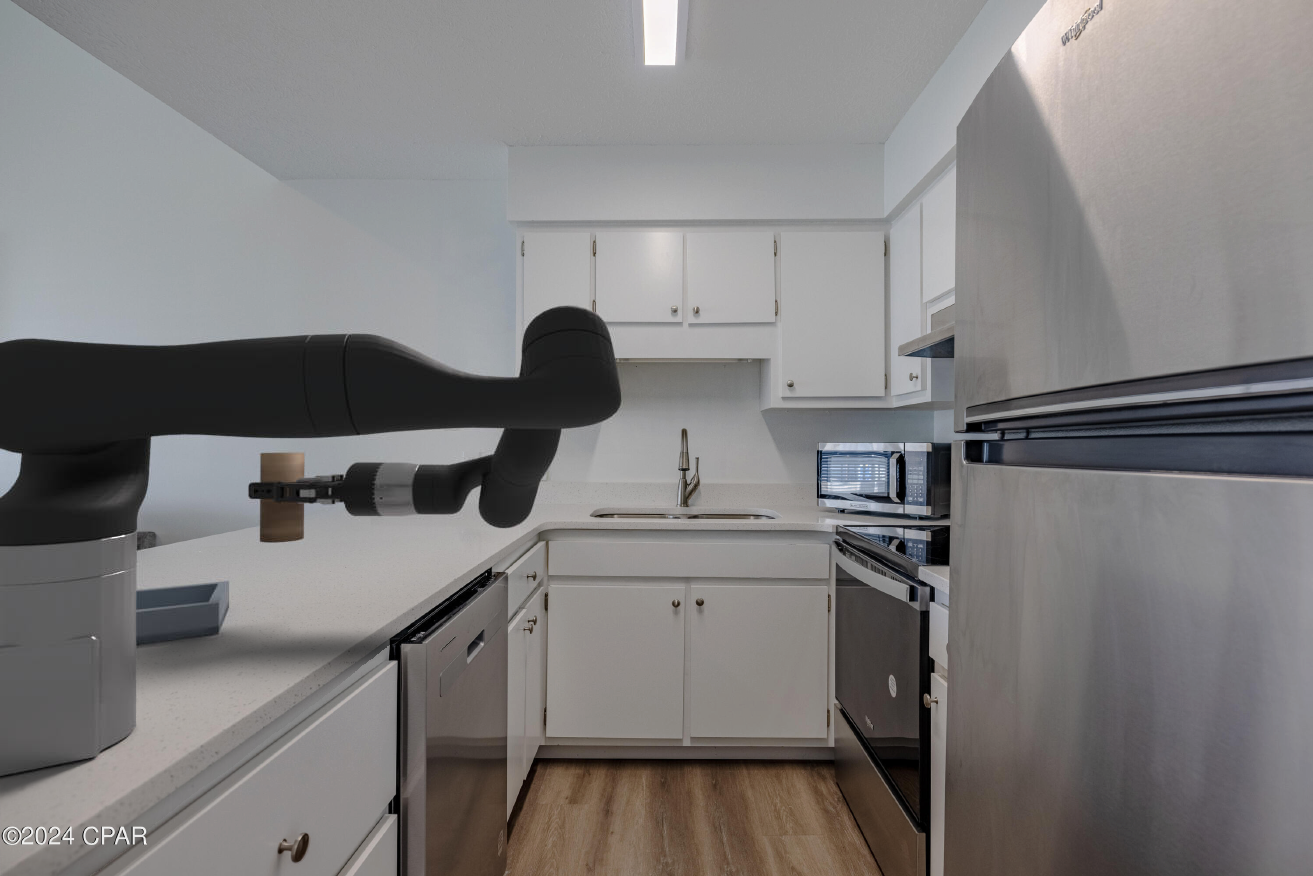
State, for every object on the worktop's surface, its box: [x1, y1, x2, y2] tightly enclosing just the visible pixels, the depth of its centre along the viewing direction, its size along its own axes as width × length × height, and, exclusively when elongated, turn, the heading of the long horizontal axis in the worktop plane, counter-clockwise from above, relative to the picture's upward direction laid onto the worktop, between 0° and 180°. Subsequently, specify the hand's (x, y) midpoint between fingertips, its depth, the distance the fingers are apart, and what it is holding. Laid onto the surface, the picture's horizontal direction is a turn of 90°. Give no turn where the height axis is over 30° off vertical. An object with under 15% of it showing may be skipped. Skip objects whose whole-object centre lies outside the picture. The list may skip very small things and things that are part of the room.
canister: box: [259, 452, 305, 544], centre depth 84 cm, size 5×5×12 cm
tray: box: [136, 580, 230, 646], centre depth 81 cm, size 14×14×4 cm
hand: (263, 488), depth 84 cm, fingers closed on canister, 5 cm apart
